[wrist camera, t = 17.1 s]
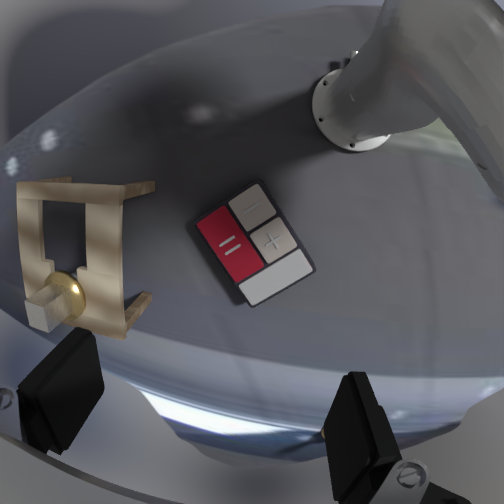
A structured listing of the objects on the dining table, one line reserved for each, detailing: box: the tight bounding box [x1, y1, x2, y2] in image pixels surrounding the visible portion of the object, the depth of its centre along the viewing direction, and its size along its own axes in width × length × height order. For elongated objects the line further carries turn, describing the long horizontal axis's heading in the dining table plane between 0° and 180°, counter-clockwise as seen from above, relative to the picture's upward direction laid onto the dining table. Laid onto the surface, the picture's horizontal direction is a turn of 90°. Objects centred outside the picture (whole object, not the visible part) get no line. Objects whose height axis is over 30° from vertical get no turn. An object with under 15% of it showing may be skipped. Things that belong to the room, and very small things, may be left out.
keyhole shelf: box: [17, 177, 155, 341], centre depth 39 cm, size 20×18×12 cm
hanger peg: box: [25, 264, 87, 333], centre depth 36 cm, size 7×7×16 cm
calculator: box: [194, 179, 316, 308], centre depth 42 cm, size 11×4×15 cm
